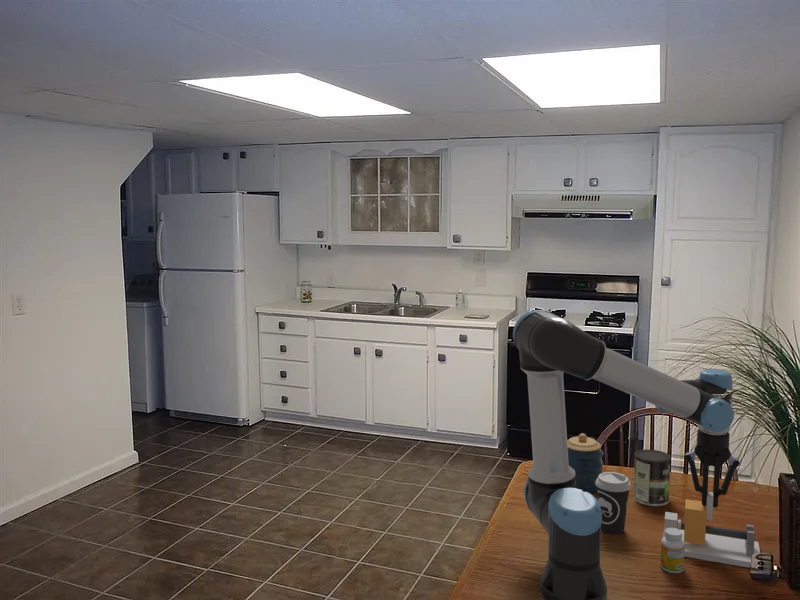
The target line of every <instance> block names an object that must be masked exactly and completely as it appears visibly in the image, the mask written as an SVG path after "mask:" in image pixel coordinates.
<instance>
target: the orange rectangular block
mask: <svg viewBox="0 0 800 600" xmlns="http://www.w3.org/2000/svg"><path fill="white" fill-rule="evenodd" d="M684 507H685V508H684V522H685V528H684V542H687V543H694V544H700V545H705V534H707V533H706V525H707V520H706V514H707V509H706V506H702V500H694V499H688V498H686V499H685V505H684Z"/></svg>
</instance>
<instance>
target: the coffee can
mask: <svg viewBox="0 0 800 600" xmlns="http://www.w3.org/2000/svg"><path fill="white" fill-rule="evenodd" d="M671 459H672V457H671V455H670V454H669V453H667V452H665V451H661V450H657V449H656V450H655V449H639V450H637V451H635V452H634V473H633V475H634V480H633V483H634V484H633V499H634V501H635V502H637V503H639V504H641V505H645V506H649V507H663V506H666V505H668V504H669V500H670V499H669V497H670V474H671V473H670V471H671Z"/></svg>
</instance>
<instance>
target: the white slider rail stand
mask: <svg viewBox="0 0 800 600" xmlns="http://www.w3.org/2000/svg"><path fill="white" fill-rule="evenodd" d="M664 513H665V514H664V525H663V526H664V528H663V537H665V529H667V528H676V529H679V530H680V531H681V532H682V540H683V541H684V528H685V521H682V519H679V518H678V513H677V512H669V511H665V512H664ZM754 528H755V527H754V525H753V524H747V523H746V524H745V530H740V529H738V530H737V529H733V528H726V527H720V526H719V527H718V526H712V525H708V524H706V534H705V545H700V544H694V543H687V542H684V543H685V549H684V558H685V557H686V558H689V559H690V558H691V559H697V560H702V561H707V562H714V563H720V564H725V565H731V566H732V565H733V566H735V567H743V568H750V565H751V558H752V555H753V554H754V553H760V554H761V550H760V545H759V542H758V541H755V533H756V532H755V531H754ZM663 537H662V538H663ZM750 569H751V568H750Z"/></svg>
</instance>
